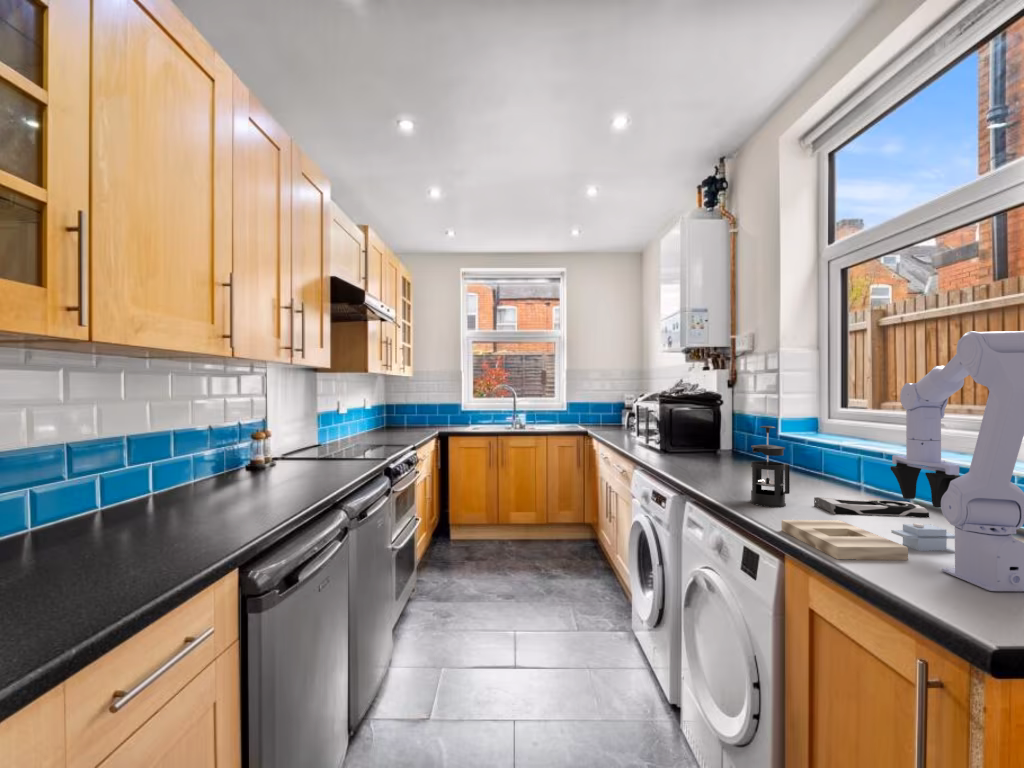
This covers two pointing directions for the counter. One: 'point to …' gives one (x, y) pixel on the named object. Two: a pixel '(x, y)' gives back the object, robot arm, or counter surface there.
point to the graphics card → (870, 507)
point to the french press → (768, 496)
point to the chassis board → (844, 540)
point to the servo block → (924, 536)
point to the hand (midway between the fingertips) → (923, 502)
